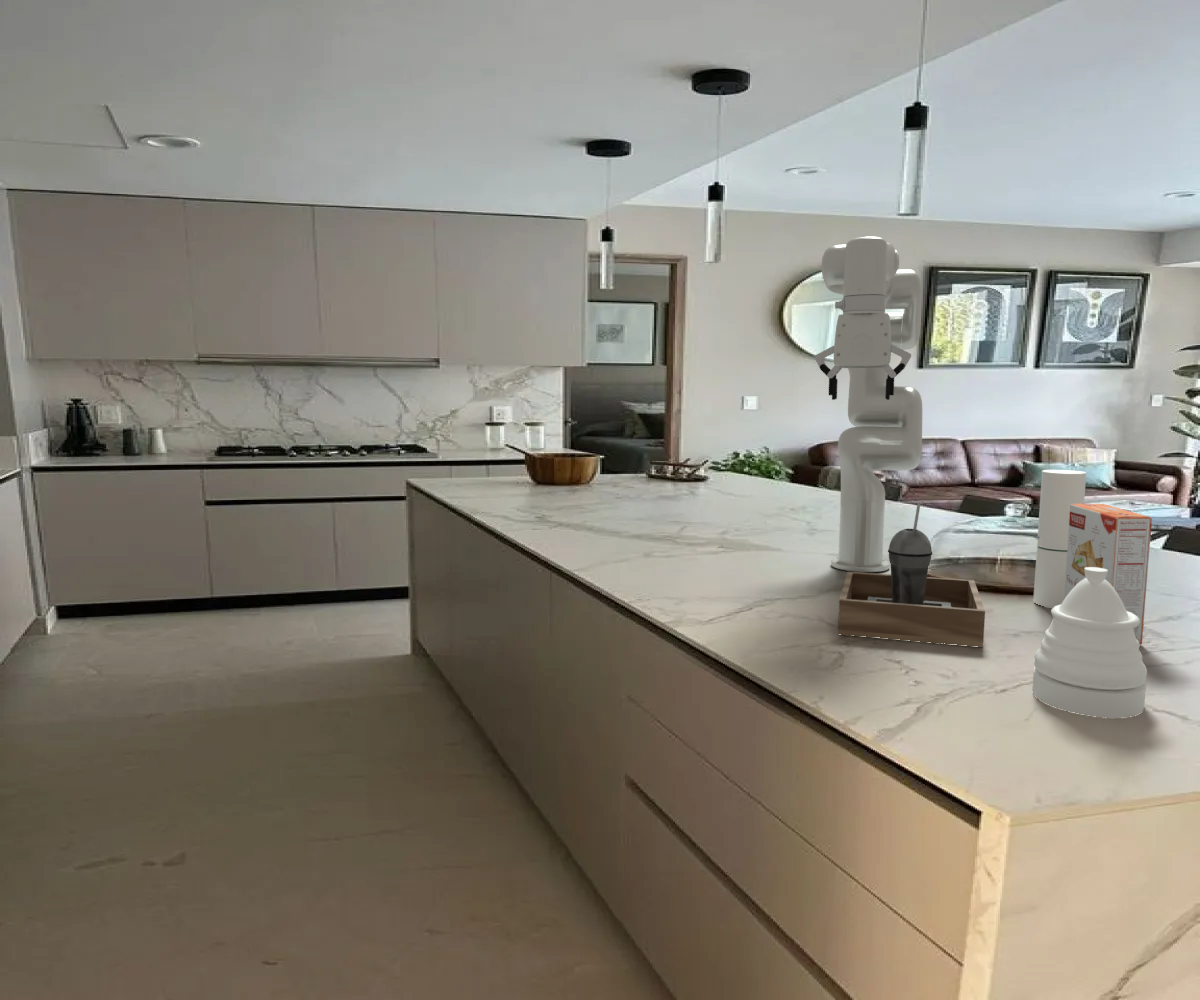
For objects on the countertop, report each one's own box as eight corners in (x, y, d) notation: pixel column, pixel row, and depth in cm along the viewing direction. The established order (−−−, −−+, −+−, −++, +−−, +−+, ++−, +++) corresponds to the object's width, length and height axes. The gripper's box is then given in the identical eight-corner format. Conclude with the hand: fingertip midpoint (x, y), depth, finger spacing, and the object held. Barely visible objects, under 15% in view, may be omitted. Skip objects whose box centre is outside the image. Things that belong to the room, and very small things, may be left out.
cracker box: (1059, 621, 148) (1068, 502, 145) (1095, 621, 148) (1104, 502, 145) (1104, 646, 134) (1114, 515, 132) (1143, 646, 134) (1154, 515, 131)
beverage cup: (878, 612, 151) (882, 500, 148) (917, 610, 152) (923, 500, 149) (895, 623, 144) (900, 506, 141) (937, 622, 144) (942, 506, 142)
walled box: (846, 602, 161) (847, 571, 161) (972, 612, 154) (974, 580, 153) (838, 635, 141) (839, 600, 140) (982, 648, 134) (985, 611, 133)
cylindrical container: (1072, 600, 162) (1081, 470, 158) (1079, 610, 155) (1090, 474, 151) (1030, 598, 164) (1039, 469, 160) (1036, 607, 157) (1045, 473, 154)
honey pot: (1144, 726, 103) (1156, 582, 101) (1027, 706, 110) (1036, 570, 108) (1143, 693, 114) (1154, 562, 112) (1036, 676, 121) (1045, 552, 118)
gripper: (814, 307, 157) (811, 400, 160) (913, 303, 152) (909, 400, 154) (818, 309, 164) (815, 399, 167) (913, 306, 159) (909, 399, 161)
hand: (860, 399), depth 160 cm, fingers open, 9 cm apart
